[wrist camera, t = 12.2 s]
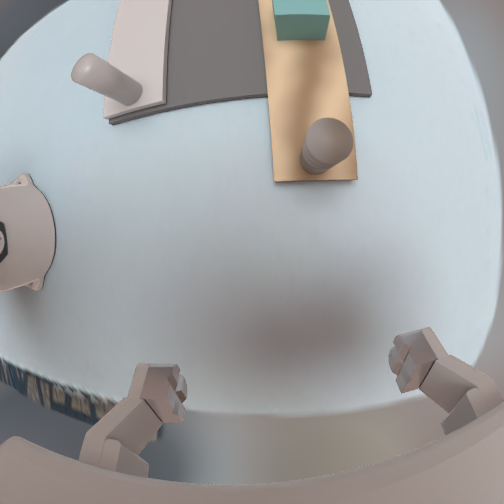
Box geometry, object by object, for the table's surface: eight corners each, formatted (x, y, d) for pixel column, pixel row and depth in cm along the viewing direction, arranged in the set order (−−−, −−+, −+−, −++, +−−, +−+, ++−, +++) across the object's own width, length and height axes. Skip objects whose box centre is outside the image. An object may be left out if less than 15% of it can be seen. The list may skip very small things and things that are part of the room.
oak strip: (274, 181, 26) (268, 173, 16) (258, -4, 22) (246, -57, 12) (355, 179, 25) (391, 172, 15) (324, -5, 21) (332, -57, 11)
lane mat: (113, 125, 28) (108, 123, 27) (131, -10, 23) (128, -13, 22) (369, 97, 24) (372, 94, 23) (330, -40, 19) (331, -44, 19)
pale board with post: (107, 119, 27) (51, 101, 17) (126, -12, 22) (94, -43, 12) (166, 103, 26) (117, 70, 16) (175, -29, 21) (150, -68, 11)
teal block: (277, 40, 22) (274, 15, 17) (272, 9, 21) (269, -17, 16) (324, 40, 21) (330, 15, 17) (317, 8, 20) (321, -17, 16)
